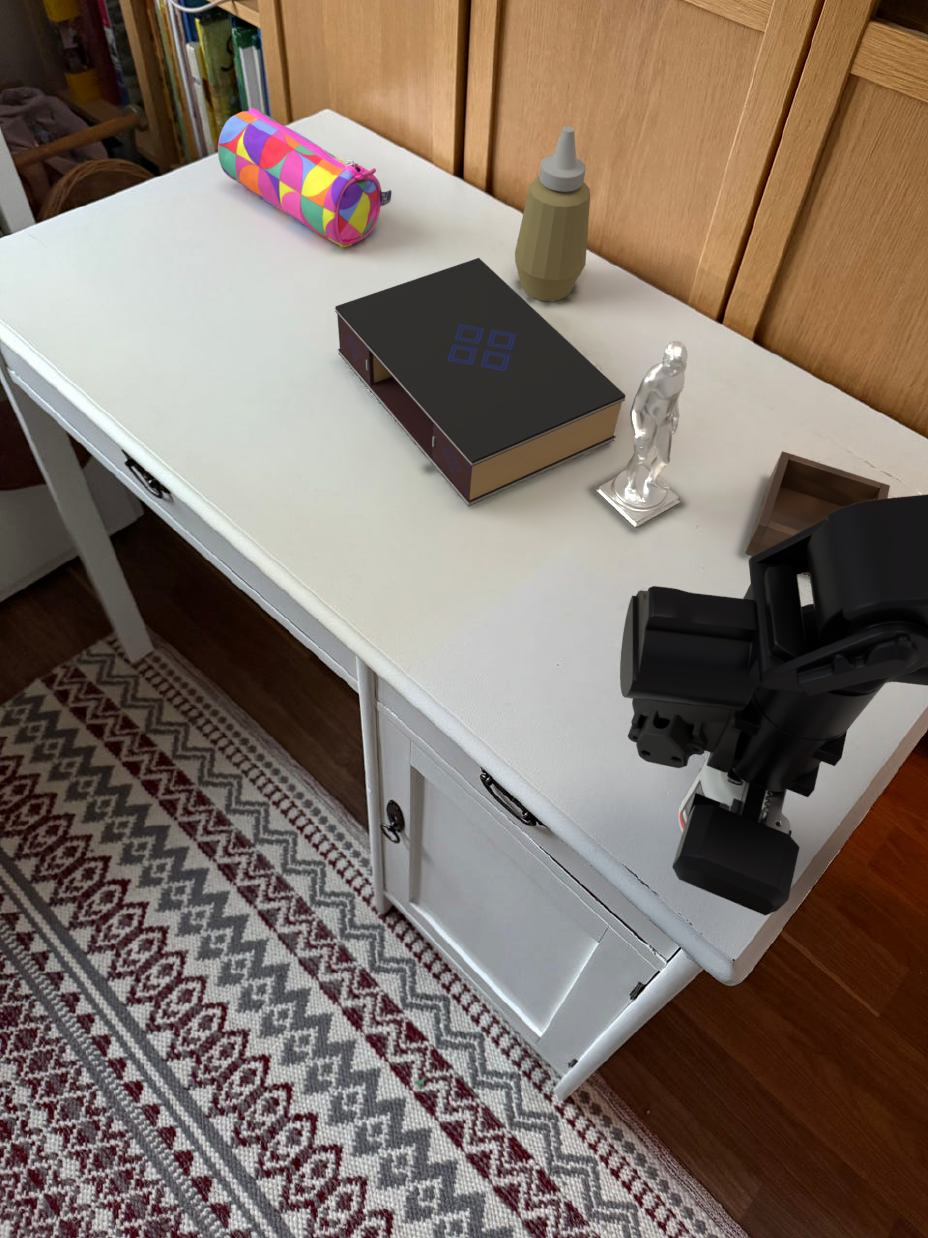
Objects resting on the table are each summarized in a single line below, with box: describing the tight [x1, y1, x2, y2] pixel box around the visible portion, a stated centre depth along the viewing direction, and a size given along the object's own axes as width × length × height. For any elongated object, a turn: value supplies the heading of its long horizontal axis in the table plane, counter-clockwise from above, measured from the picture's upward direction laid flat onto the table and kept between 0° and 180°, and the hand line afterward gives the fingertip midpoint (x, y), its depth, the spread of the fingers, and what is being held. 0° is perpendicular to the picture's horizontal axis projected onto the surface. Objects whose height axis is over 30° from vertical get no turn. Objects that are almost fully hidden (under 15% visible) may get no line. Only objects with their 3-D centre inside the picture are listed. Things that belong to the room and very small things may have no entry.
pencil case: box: [217, 107, 392, 248], centre depth 108 cm, size 22×9×9 cm, turn 51°
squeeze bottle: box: [514, 125, 591, 302], centre depth 98 cm, size 8×8×18 cm
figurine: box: [595, 340, 688, 528], centre depth 79 cm, size 8×7×18 cm
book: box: [334, 257, 626, 508], centre depth 90 cm, size 17×25×7 cm
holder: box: [744, 450, 891, 576], centre depth 83 cm, size 10×10×4 cm
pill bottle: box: [677, 758, 768, 833], centre depth 61 cm, size 5×5×10 cm
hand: (724, 809), depth 63 cm, fingers closed on pill bottle, 5 cm apart
